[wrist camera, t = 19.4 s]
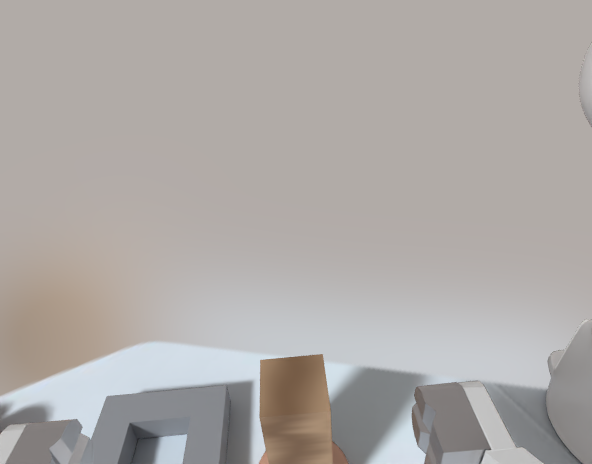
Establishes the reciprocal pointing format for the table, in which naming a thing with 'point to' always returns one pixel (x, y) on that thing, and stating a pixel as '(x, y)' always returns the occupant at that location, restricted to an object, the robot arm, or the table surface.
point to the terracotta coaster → (337, 456)
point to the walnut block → (295, 410)
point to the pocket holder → (164, 423)
